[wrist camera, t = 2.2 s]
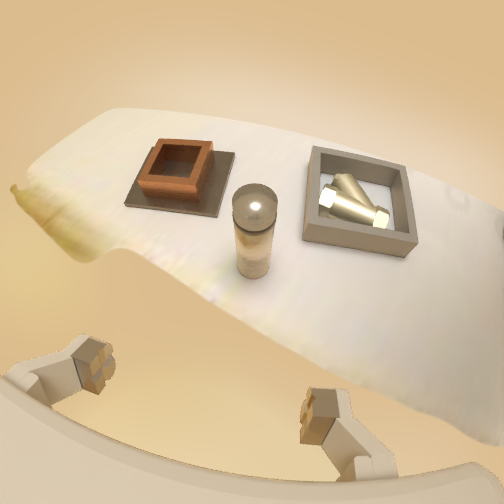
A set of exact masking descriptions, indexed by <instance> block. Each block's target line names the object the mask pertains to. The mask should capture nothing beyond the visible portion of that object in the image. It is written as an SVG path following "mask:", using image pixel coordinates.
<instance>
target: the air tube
mask: <svg viewBox="0 0 504 504" xmlns="http://www.w3.org/2000/svg"><path fill="white" fill-rule="evenodd" d="M277 204H278V200H277V196H276V194H275V193H274V191H273V190H272V189H270V188H269V187H267V186H265V185H262V184H247V185H244V186H242V187H241V188H239V189H238V190H237V191H236V192H235V193H234V195H233V198H232V206H233V222H234V229H235V240H236V250H237V261H238V269H239V271H240V273H241V274H242V275H243V276H245V277H246V278H249V279H258V278H261V277H262V276H264V275H265V274H266V273H267V271H268V268H269V262H270V255H271V248H272V241H273V234H274V226H275V222H276V217H277Z"/></svg>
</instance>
